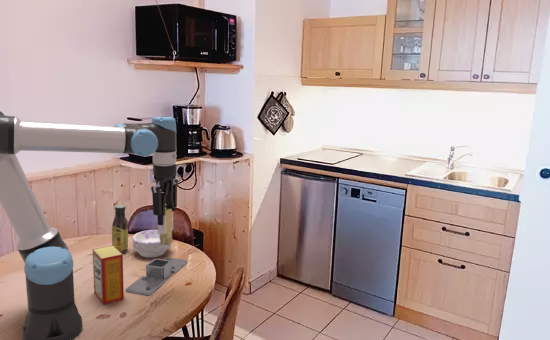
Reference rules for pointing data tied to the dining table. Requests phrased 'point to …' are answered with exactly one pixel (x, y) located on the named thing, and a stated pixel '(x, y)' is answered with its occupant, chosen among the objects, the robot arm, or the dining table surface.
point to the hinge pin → (167, 228)
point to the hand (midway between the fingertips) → (165, 231)
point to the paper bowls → (149, 244)
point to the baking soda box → (108, 274)
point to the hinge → (156, 275)
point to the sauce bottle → (120, 230)
